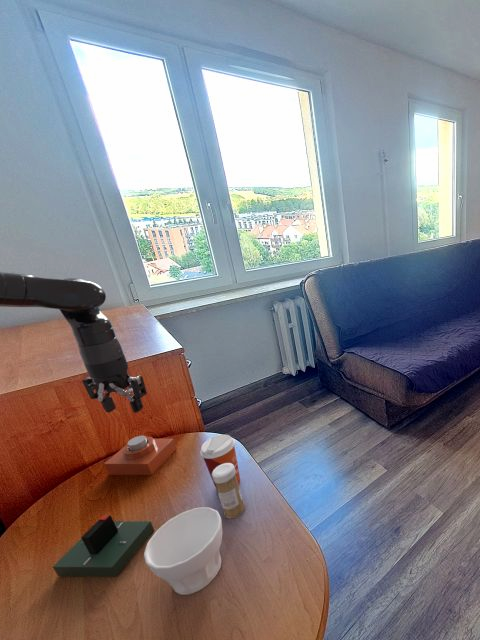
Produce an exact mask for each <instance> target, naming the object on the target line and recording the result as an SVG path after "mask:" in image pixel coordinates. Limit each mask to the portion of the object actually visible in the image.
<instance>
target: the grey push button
mask: <svg viewBox="0 0 480 640" xmlns="http://www.w3.org/2000/svg"><path fill="white" fill-rule="evenodd" d="M146 437H147V436H145V435H138V436H135V437H133V438H131V439H129V440H128V441H127V443H126V445H127V444H128V447H129V449H130V451H135V450H139V449H141V448H143V447H145V446H146V445H147V444H148V442H147V440H146Z"/></svg>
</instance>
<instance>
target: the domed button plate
mask: <svg viewBox="0 0 480 640" xmlns="http://www.w3.org/2000/svg"><path fill="white" fill-rule="evenodd" d="M145 437H146V440H147V442H148V444H147V445H146V446H145V447H143V448H141V449H139V450H135V451H130V449H129V447H128V444H127V443H126V445H123V447H122V448H121V449H120V450H119V451H117V452H116V453H115V454H114V455H112V457H110V458H109V459H108V460H107V461H105V462H104V463H103V465H104V467H105V469H106V472H107V474H108V475H109V476H153V475H154V474H155V473H156V472H157V470H158V469H160V468H161V466H162V465H163V464H164V463H166V461H167V460H168V459H169V458H170V457H171V456H172V455H173V454H174V453H175V452H176V451H177V450H178V448H177V447H178V446H177V444H176V440H175V438H153V437H152V436H145ZM176 449H177V450H176ZM175 450H176V451H175ZM174 451H175V452H174ZM173 452H174V453H173ZM172 453H173V454H172ZM171 454H172V455H171Z"/></svg>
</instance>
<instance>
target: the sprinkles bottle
mask: <svg viewBox="0 0 480 640" xmlns="http://www.w3.org/2000/svg"><path fill="white" fill-rule="evenodd" d="M235 473H236V471H235V467H234V465H233V464H231V463H224V464H221V465H219V466H218V467H216V468H215V469H214V470H213V472H212V478H213V480H212V482H213V481H214V482H215V484H216V487H217V490H216V492H217V495H218V498H219V501H220V504H221V507H222V510H223V515H224V517H225V518H226V519H229V520H232V519H235V518H238V517H239V516H240V515H242V514H243V513H244V511H245V509H246V504H245V503H244V500H243V494H242V491H241V487H240V484H239V485H238V482H237V478H236V474H235ZM212 478H211V479H212Z"/></svg>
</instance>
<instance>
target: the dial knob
mask: <svg viewBox="0 0 480 640" xmlns="http://www.w3.org/2000/svg"><path fill="white" fill-rule="evenodd" d="M114 521H115V520H114V519H113V517H112V515H110V514H109V515H108V514H103V515H102V516H101V517H99V519H98V520H97V521H95V523H94V524H93V525H92V526H91V527H90V528H89V529H88V530H87V531H85V533H84V534H83V535H82V536H81V537H80V539H82V540H83V542H84V544H85V546H86V548H87V550H88V552H89V553H90V554H98V553H99V552H100V551H101V550H102V549H103V547H104V546H105V545H106V544H107V543H108V542H109V541H110V540H111V539H112V538H113V537H114V536H115V534H116V533H117V532H118V530H117V528H116V525H115V523H114Z"/></svg>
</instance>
